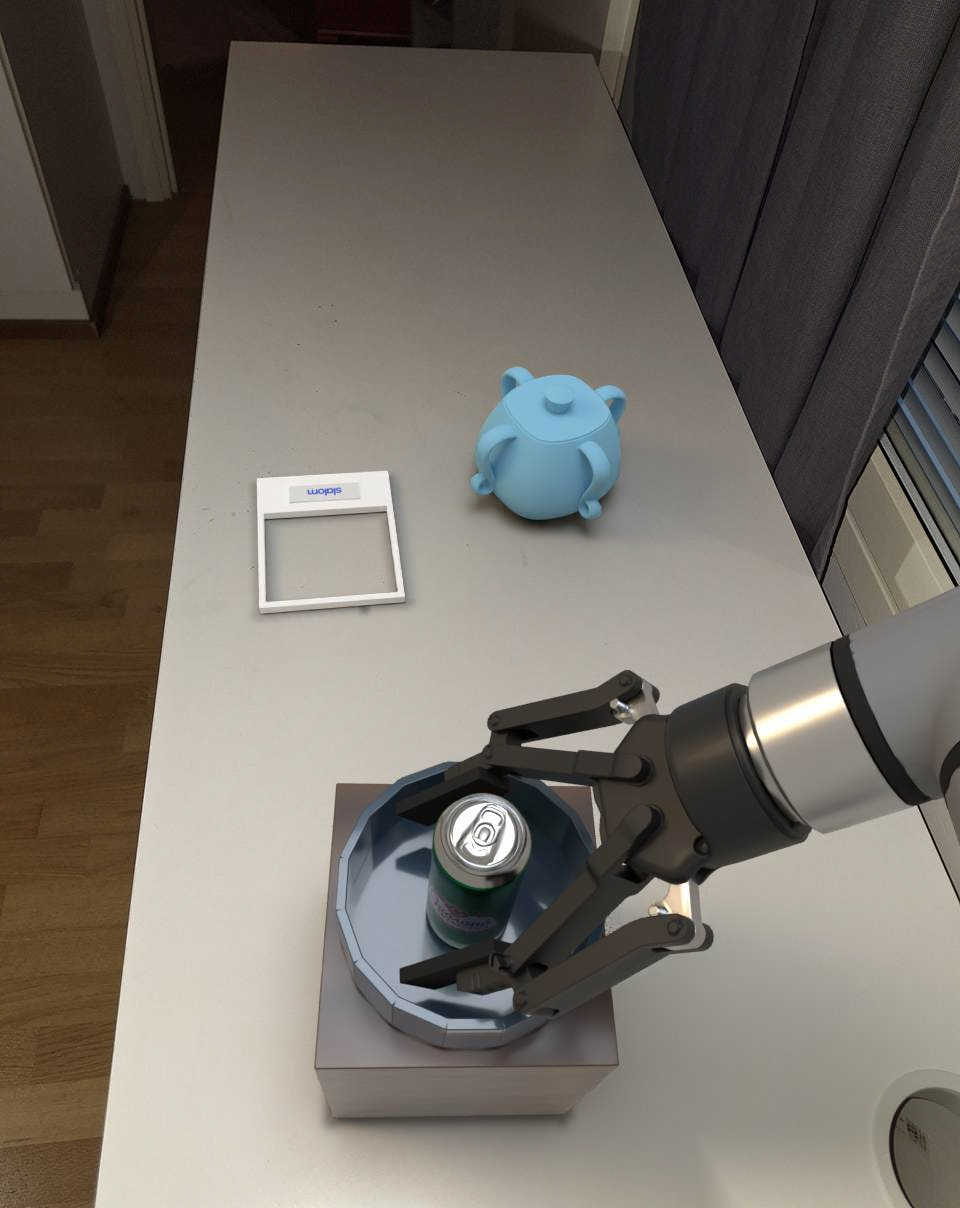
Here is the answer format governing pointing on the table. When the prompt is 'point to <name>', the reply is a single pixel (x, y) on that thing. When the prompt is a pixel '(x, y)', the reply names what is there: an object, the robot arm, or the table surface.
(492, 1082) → the stand
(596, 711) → the robot arm
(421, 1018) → the bowl
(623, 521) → the table surface
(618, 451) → the decorative pot
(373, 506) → the photo frame
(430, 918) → the soda can
